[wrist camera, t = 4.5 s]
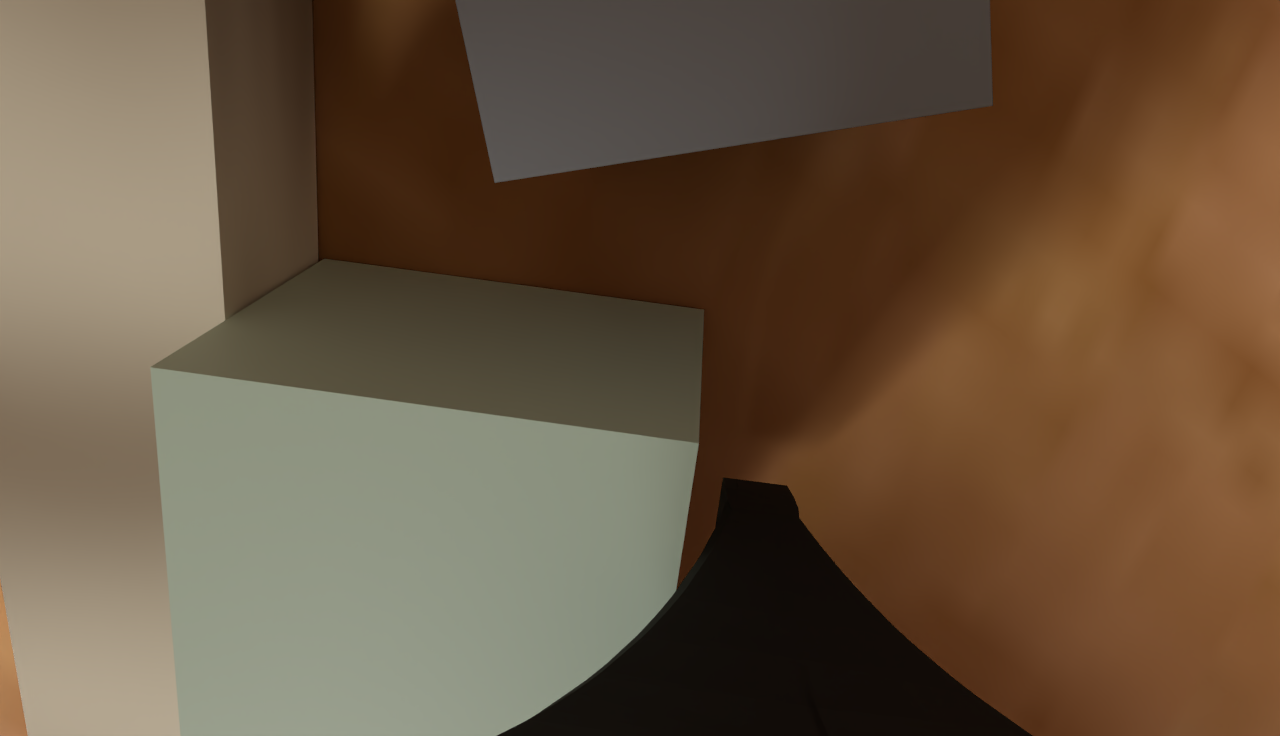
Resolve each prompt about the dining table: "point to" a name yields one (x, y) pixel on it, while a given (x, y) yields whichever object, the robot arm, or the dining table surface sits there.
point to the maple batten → (126, 306)
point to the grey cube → (709, 73)
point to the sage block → (418, 499)
